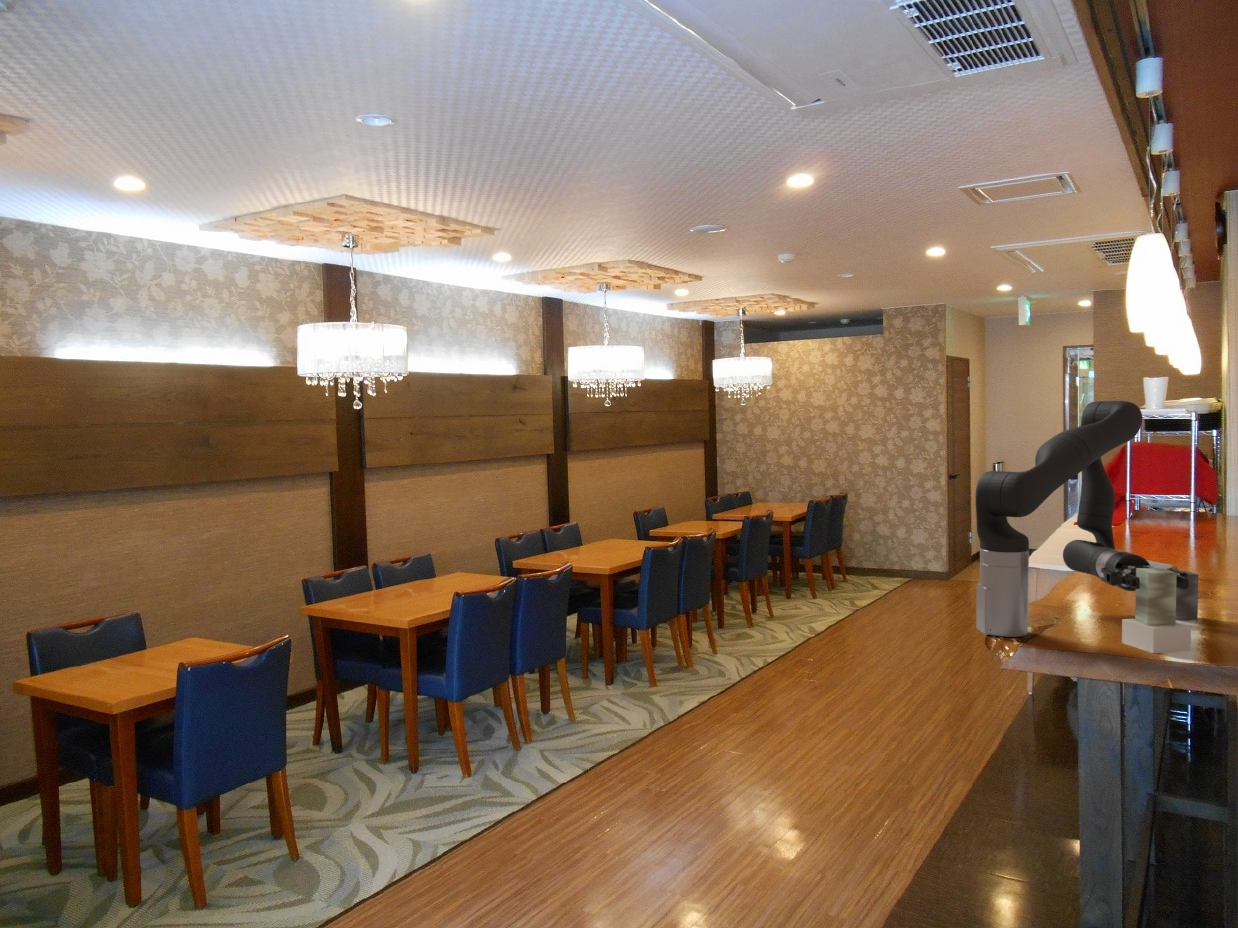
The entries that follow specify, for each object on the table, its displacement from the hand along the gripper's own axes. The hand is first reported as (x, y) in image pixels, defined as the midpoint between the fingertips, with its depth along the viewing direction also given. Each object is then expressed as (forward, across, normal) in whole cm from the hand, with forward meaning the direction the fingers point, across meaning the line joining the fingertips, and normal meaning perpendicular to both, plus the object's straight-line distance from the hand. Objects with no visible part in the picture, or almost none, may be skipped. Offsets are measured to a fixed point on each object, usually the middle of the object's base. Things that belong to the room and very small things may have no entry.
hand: (1161, 583), depth 167 cm
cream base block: (-2, 0, +13) cm, 13 cm away
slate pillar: (-28, +17, +13) cm, 35 cm away
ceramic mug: (-59, +27, +13) cm, 66 cm away
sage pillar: (-2, 0, +8) cm, 8 cm away
